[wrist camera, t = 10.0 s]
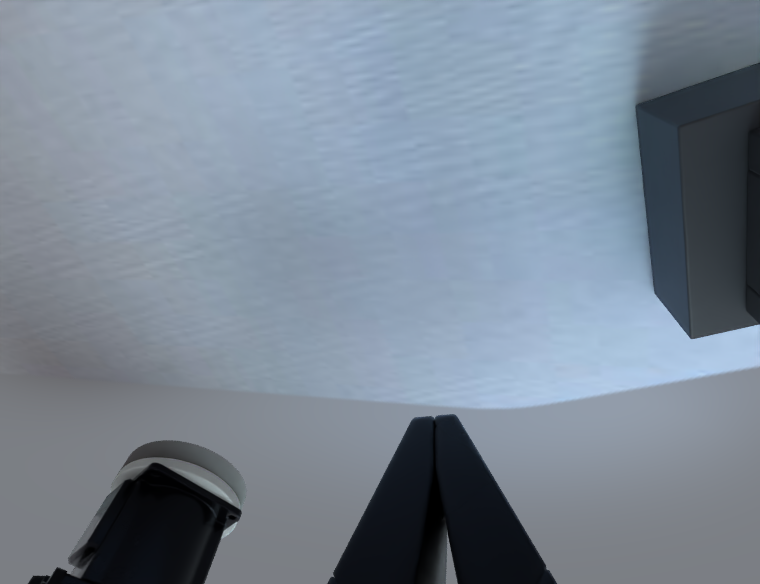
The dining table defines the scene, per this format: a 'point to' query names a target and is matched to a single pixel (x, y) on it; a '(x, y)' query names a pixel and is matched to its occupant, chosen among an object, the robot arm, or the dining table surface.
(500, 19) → the dining table surface
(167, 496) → the robot arm
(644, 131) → the charcoal button block
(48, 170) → the dining table surface
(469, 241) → the dining table surface
